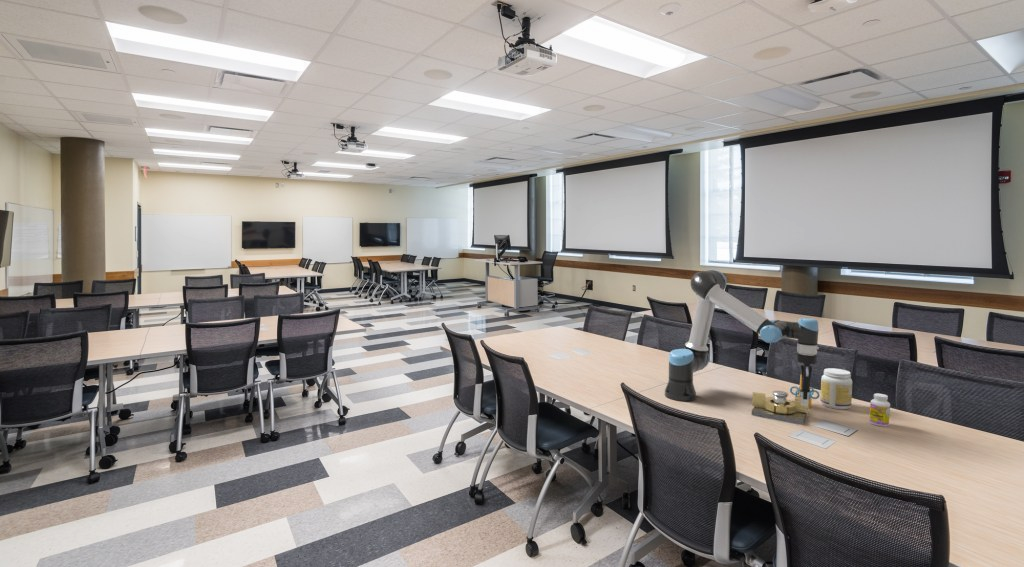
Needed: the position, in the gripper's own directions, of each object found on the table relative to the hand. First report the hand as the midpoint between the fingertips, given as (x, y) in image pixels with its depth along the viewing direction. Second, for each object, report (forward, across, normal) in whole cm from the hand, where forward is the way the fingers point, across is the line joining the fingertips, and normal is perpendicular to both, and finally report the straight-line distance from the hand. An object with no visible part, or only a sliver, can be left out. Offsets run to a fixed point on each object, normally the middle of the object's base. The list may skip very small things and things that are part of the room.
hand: (804, 405), depth 207 cm
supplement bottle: (+6, +6, -28) cm, 29 cm away
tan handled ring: (+3, 0, +9) cm, 10 cm away
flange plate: (+5, 0, +10) cm, 11 cm away
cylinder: (+5, +17, -1) cm, 18 cm away
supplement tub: (+5, +24, -14) cm, 29 cm away
